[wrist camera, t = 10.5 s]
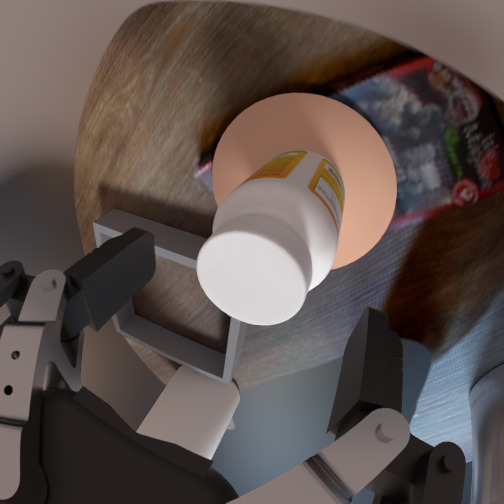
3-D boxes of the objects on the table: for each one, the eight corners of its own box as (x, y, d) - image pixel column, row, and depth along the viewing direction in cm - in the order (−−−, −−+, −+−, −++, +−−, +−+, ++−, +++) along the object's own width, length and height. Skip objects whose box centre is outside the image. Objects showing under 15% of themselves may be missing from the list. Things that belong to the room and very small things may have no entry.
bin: (261, 256, 22) (248, 278, 20) (239, 364, 30) (229, 385, 28) (114, 208, 25) (92, 222, 23) (130, 315, 33) (116, 331, 31)
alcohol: (225, 362, 31) (93, 582, 7) (252, 404, 34) (153, 592, 10) (168, 357, 35) (46, 533, 11) (199, 396, 38) (101, 556, 14)
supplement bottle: (250, 209, 19) (171, 300, 12) (276, 134, 16) (190, 181, 9) (324, 243, 19) (289, 358, 11) (360, 171, 16) (358, 258, 8)
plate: (418, 125, 14) (421, 127, 13) (360, 285, 20) (359, 292, 20) (228, 79, 16) (222, 79, 15) (210, 237, 23) (206, 242, 22)
